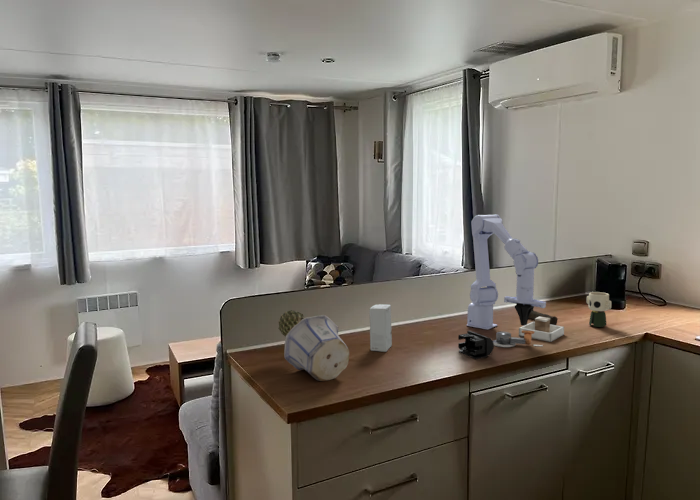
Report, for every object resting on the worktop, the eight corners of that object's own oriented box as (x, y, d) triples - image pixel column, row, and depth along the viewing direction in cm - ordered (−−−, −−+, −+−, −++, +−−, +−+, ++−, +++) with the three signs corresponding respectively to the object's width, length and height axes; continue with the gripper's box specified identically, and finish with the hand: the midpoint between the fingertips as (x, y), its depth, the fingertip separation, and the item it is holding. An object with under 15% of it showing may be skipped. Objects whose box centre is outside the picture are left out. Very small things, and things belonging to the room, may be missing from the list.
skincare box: (386, 352, 179) (386, 309, 178) (369, 351, 181) (368, 308, 179) (392, 345, 187) (392, 303, 185) (375, 344, 189) (375, 302, 187)
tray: (518, 335, 196) (518, 327, 196) (532, 329, 205) (532, 321, 205) (550, 341, 188) (551, 333, 188) (563, 334, 197) (564, 326, 197)
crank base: (492, 346, 184) (492, 345, 184) (491, 340, 191) (491, 338, 191) (544, 349, 180) (544, 347, 180) (541, 342, 188) (541, 341, 188)
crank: (495, 343, 185) (496, 330, 184) (496, 339, 190) (496, 326, 189) (534, 346, 181) (534, 332, 181) (534, 342, 186) (534, 329, 185)
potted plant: (361, 329, 154) (312, 289, 177) (305, 342, 145) (262, 298, 168) (356, 381, 160) (309, 335, 183) (302, 397, 151) (261, 347, 174)
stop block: (534, 334, 196) (534, 318, 196) (538, 332, 200) (539, 316, 199) (545, 336, 194) (545, 320, 193) (549, 334, 197) (550, 318, 196)
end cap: (494, 356, 173) (494, 336, 173) (476, 360, 170) (476, 339, 170) (474, 348, 182) (474, 329, 182) (457, 351, 179) (457, 332, 178)
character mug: (579, 324, 211) (580, 292, 210) (592, 322, 215) (593, 290, 213) (603, 330, 202) (605, 297, 200) (616, 328, 205) (617, 295, 203)
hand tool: (558, 326, 211) (558, 314, 210) (550, 327, 209) (550, 315, 209) (526, 315, 228) (526, 305, 228) (518, 316, 227) (519, 305, 226)
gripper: (500, 286, 189) (499, 323, 191) (540, 291, 180) (539, 330, 181) (509, 283, 194) (508, 319, 196) (548, 288, 185) (547, 326, 186)
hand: (523, 324), depth 189 cm, fingers closed
